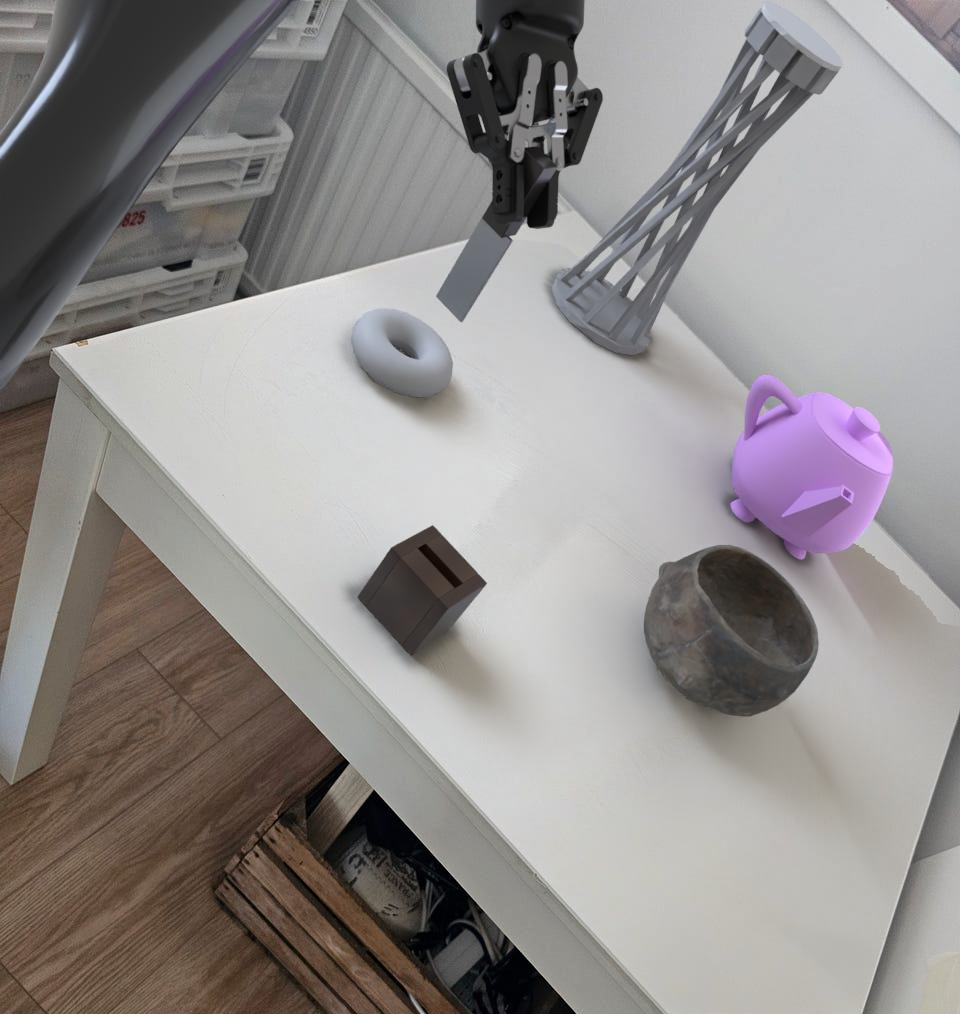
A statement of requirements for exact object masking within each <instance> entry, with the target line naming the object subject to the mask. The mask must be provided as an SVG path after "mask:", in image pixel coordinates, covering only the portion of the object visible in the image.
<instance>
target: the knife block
mask: <svg viewBox="0 0 960 1014" xmlns="http://www.w3.org/2000/svg"><path fill="white" fill-rule="evenodd" d="M487 584H488V582H487V581H486V580H485V579H484V578H483V577H482V576H481V574H479V573H478V571H477V570H476V569H475V568H474V567H473V566H472V565H471V564H470V563H469V562H468V560H466V558H465V557H464V556H463V555H462V554H461V553H460V552H459V551H458V550H457V549H456V548H455V547H454V546H453V545H452V543H451V542H449V540H448V539H447V538H446V537H445V535H443V534H442V533H441V532H440V531H439V529H437V527H435V525H433V524H431V525H430V526H428V527H426V528H425V529H422V530H421V531H419V532H417V533H415V534H413V535H411V536H410V537H408V538H406V539H404V540H402V541H400V542H398V543H397V544H395V545H393V546H391V547H390V549H388V552H386V554H385V556H384V557H383V559H382V560H381V561H380V563H379V564H378V566H377V567H376V569H375V570H374V571H373V573H372V574H371V576H370V578H369V579H368V581H367V582H366V584H365V585H364V586H363V588H362V589H361V590H360V592H359V594H358V595H357V599H358V600H359V601H360V602H361V603H362V604H363V605H364V606H365V607H366V608H367V609H368V610H369V612H370V613H371V614H372V615H373V616H374V617H375V618H376V619H377V621H378V622H379V623H380V624H381V625H382V627H384V628H385V629H386V630H387V632H389V633H390V634H391V636H392V637H393V638H394V639H395V640H396V641H397V643H399V644H400V646H402V648H404V650H405V651H406V652H407V653H408V654H409V655H410V656H412V655H414V654H415V653H417V652H419V650H421V649H423V648H425V646H427V645H429V644H430V643H432V642H433V641H435V640H436V639H438V638H439V637H440V636H442V635H443V634H446V632H448V631H450V630H451V629H452V627H453V626H454V625H455V624H456V622H457V621H458V620H459V619H460V617H462V615H463V614H464V613H465V611H466V610H467V609H468V608H469V606H470V605H471V604H472V603H473V601H474V600H475V599H476V598H477V597H478V596H479V594H480V593H481V592H482V591H483V590H484V588H485V587H486V586H487Z"/></svg>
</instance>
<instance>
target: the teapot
mask: <svg viewBox="0 0 960 1014" xmlns="http://www.w3.org/2000/svg"><path fill="white" fill-rule="evenodd" d="M770 397H774V398H776V399H778V400H779V401H780V402H782V403H781V404H779V405H777V406H775V407H773V408H771V409H770V410H768V411H766V412H764V413H763V414H761V415H760V413H761V410H762V409H763V406H764V404H765V402H766V401H767V400H768V398H770ZM744 413H745V414H744V427H743V430H742V432H741V433H740V435H739V436H738V439H737V440H736V443H735V445H734V449H733V454H732V462H731V473H730V474H731V483H732V487H733V490H734V492H735V494H736V496H737V497H738V498H737V499H735V500H732V501H731V502H730V510H731V511H732V513H733V514H734V516H736V518H738V519H739V520H741V521H742V522H744V523H748V524H749V523H751V522H753V521H754V520H755V519H757V520H758V521H760V522H761V523H762V524H763V525H764V526H765V527H766V528H768V529H769V530H770V531H771V532H773V533H774V534H776V535H777V536H778V537H780V538H782V539H783V545H784V547H785V549H786V551H787V552H788V553H789V554H790V555H791V556H792V557H793V558H795V559H796V560H797V559H798V560H805V558H806V556H807V555H806V554H807V552H808V553H813V554H831V553H838V552H842V551H845V550H846V549H849V548H850V547H851V546H852V545H853V544H854V543H855V542H857V540H859V538H860V537H861V536H862V534H863V533H864V532H865V531H866V530H867V528H868V527H869V526H870V524H871V523H872V521H873V519H874V518H875V516H876V515H877V512H878V511H879V507H880V506H881V504H882V501H883V499H884V497H885V494H886V491H887V489H888V486H889V483H890V480H891V477H892V474H893V470H894V458H893V450H892V448H891V445H890V442H889V441H888V439H887V438H886V437H885V435H884V434H883V433H882V432H881V425H880V422H879V421H878V419H877V418H876V417H875V416H874V415H873V413H871V412H870V411H868V410H867V409H865V408H863V407H862V406H855V407H852V406H851V405H849V404H847V402H845V401H843V400H841V399H839V398H838V397H836V396H835V395H832V394H830V393H827V392H823V391H816V392H811V393H808V394H805V395H802V396H799V397H797V396H796V395H795V394H794V393H793V392H792V390H791V389H790V388H788V386H786V384H784V383H783V382H782V381H781V379H778V378H777V377H775V376H774V375H771V374H763V375H760V376H759V377H757V378H756V380H755V381H754V382H753V384H752V385H751V387H750V389H749V392H748V394H747V398H746V404H745V412H744ZM759 415H760V416H759Z"/></svg>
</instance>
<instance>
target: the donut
mask: <svg viewBox="0 0 960 1014" xmlns="http://www.w3.org/2000/svg"><path fill="white" fill-rule="evenodd" d="M350 339H351V341H350V342H351V346H352V350H353V353H354V356H355V358H356V360H357V361H358V363H359V364H360V366H361V369H363V370H364V372H366V373H367V375H369V376H370V377H371V378H372V379H373V380H374V381H376V382H377V383H378V384H380V385H381V386H383V387H384V388H385V389H388V390H389V391H392V392H394V393H396V394H398V395H402V396H406V397H410V398H429V397H431V396H434V395H436V394H439V393H441V392H442V391H443V390H444V389H445V388H446V386H448V384H449V383H450V381H451V379H452V376H453V368H454V364H453V363H454V362H453V358H452V355H451V352H450V349H449V347H448V345H447V344H446V342H445V341H444V340H443V338H442V336H440V335H439V333H438V332H437V331H435V329H433V327H432V326H430V325H429V324H427V323H426V322H424V321H423V319H420V318H419V317H417V316H414V315H412V314H410V313H408V312H406V311H403V310H399V309H396V308H387V307H382V308H381V307H380V308H375V309H372V310H367V311H366V312H365V313H364V314H362V316H359V318H358V319H357V320H356V321H355V323H354V324H353V328H352V333H351V337H350ZM401 351H402V352H403V353H402V352H401ZM404 353H405V354H404Z"/></svg>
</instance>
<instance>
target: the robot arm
mask: <svg viewBox="0 0 960 1014" xmlns="http://www.w3.org/2000/svg"><path fill="white" fill-rule="evenodd" d="M301 1H302V0H54V5H53V12H52V17H51V24H50V29H49V34H48V39H47V42H46V47H45V50H44V54H43V57H42V59H41V62H40V65H39V67H38V69H37V71H36V74H35V75H34V78H33V79H32V81H31V84H30V86H29V87H28V89H27V91H26V93H25V94H24V96H23V98H22V99H21V101H20V103H19V104H18V106H17V107H16V109H15V110H14V112H13V113H12V115H11V116H10V118H9V119H8V121H7V122H6V124H5V125H4V126H3V128H2V129H1V130H0V392H2V390H3V388H4V387H6V385H7V384H8V382H9V381H10V380H11V379H12V377H13V376H15V374H16V373H17V372H18V370H19V369H20V367H21V366H22V364H23V363H24V362H25V360H26V359H27V357H28V356H29V355H30V353H31V352H32V351H33V349H34V348H35V346H36V345H38V343H39V341H40V339H41V338H42V337H43V336H44V334H45V333H46V332H47V330H48V329H49V327H50V326H51V324H52V323H53V322H54V320H55V319H56V317H57V316H58V315H59V313H60V312H61V310H62V309H63V308H64V306H65V305H66V303H67V302H68V300H69V299H70V297H71V296H72V294H73V293H74V292H75V290H76V288H77V287H78V286H79V284H80V282H81V281H82V280H83V278H84V277H85V276H86V274H87V273H88V271H89V270H90V269H91V267H92V265H93V264H94V263H95V261H96V260H97V258H98V257H99V255H100V254H101V253H102V251H103V250H104V248H105V247H106V246H107V244H108V242H109V241H110V240H111V238H112V237H113V235H114V234H115V232H116V231H117V230H118V228H119V227H120V225H121V224H122V222H123V221H124V219H125V218H126V217H127V215H128V214H129V212H130V211H131V209H132V208H133V207H134V205H135V204H136V202H137V201H138V199H139V198H140V196H141V195H142V194H143V192H144V191H145V189H146V188H147V187H148V185H149V184H150V182H151V181H152V179H153V178H154V177H155V175H156V174H157V172H158V171H159V169H160V168H161V167H162V166H163V164H164V163H165V161H166V160H167V159H168V157H169V156H170V155H171V153H172V152H173V151H174V149H175V148H176V147H177V145H178V144H179V143H180V142H181V140H182V139H183V138H184V137H185V135H186V134H187V133H188V132H189V131H190V130H191V128H192V127H193V126H194V124H195V123H196V122H197V121H198V120H199V118H200V117H201V116H202V115H203V113H204V112H205V111H206V110H207V109H208V107H210V106H211V104H212V103H213V101H214V100H215V99H216V98H217V96H218V95H219V94H220V93H221V92H222V90H223V89H224V88H225V86H226V85H227V84H228V83H229V82H230V81H231V79H232V78H233V77H234V76H235V74H237V72H238V71H239V70H240V69H241V68H242V67H243V66H244V65H245V63H246V62H247V61H248V60H249V59H250V58H251V57H252V55H254V53H255V52H256V51H257V50H258V49H259V47H261V46H262V44H263V43H264V42H265V41H266V39H268V37H269V36H271V34H272V33H273V32H274V31H275V30H276V29H277V28H278V26H280V24H281V23H282V22H283V21H284V20H285V18H287V16H289V14H290V13H291V12H292V11H293V10H294V8H296V6H297V5H298V4H299V3H300V2H301ZM585 2H586V1H585V0H475V26H476V30H477V31H478V32H479V34H480V35H481V38H480V41H479V43H478V45H477V49H476V52H474V53H470V54H468V55H465V56H462V57H458V58H455V59H453V60H450V61H448V63H447V65H446V74H447V76H448V80H449V85H450V87H451V91H452V93H453V96H454V97H453V98H454V100H455V104H456V106H457V110H458V113H459V116H460V119H461V123H462V127H463V130H464V133H465V135H466V139H467V142H468V146H469V149H470V151H471V152H472V153H473V154H477V155H478V154H481V155H482V156H484V157H485V158H486V159H487V160H488V163H489V164H490V166H491V168H492V184H491V185H492V192H491V196H492V197H491V201H492V207H493V211H494V214H495V218H496V221H497V223H500V224H513V223H519V222H521V221H522V219H523V213H524V166H523V165H519V162H521V161H522V160H523V157H524V150H525V147H526V142H527V147H534V146H538V147H539V148H540V149H541V150H542V151H543V152H544V153H545V154H546V155H547V156H548V157H549V158H550V159H551V160H552V161H553V162H554V163H555V164H556V165H557V166H558V167H557V169H556V171H555V172H554V174H553V175H552V177H551V179H550V180H549V182H548V184H547V185H546V187H545V188H544V190H543V192H542V193H541V195H540V196H539V198H538V200H537V201H536V203H535V205H534V206H533V208H532V209H531V211H530V213H529V214H528V216H527V217H526V225H527V227H528V228H529V229H535V230H540V229H549V228H552V227H553V226H554V224H555V220H556V219H557V217H558V214H559V213H558V212H559V211H558V210H559V179H560V173H561V172H562V171H563V169H565V168H568V167H571V166H572V167H573V166H578V165H579V164H580V163H581V161H582V159H583V156H584V153H585V151H586V147H587V145H588V143H589V141H590V137H591V134H592V131H593V129H594V126H595V123H596V121H597V119H598V118H597V117H598V115H599V112H600V109H601V107H602V103H603V100H604V95H603V92H602V90H601V89H600V88H599V87H595V88H588V87H587V86H586V84H584V83H583V81H582V80H581V79H580V78H579V77H578V76H579V66H578V63H577V59H576V54H575V43H576V41H577V39H578V37H579V36H580V33H581V32H582V30H583V28H584V23H585ZM480 118H481V119H480ZM544 121H548V122H547V123H544V124H539V123H540V122H544ZM481 122H482V123H481ZM482 125H483V126H482ZM483 128H484V129H483ZM545 140H546V144H547V152H545Z"/></svg>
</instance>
